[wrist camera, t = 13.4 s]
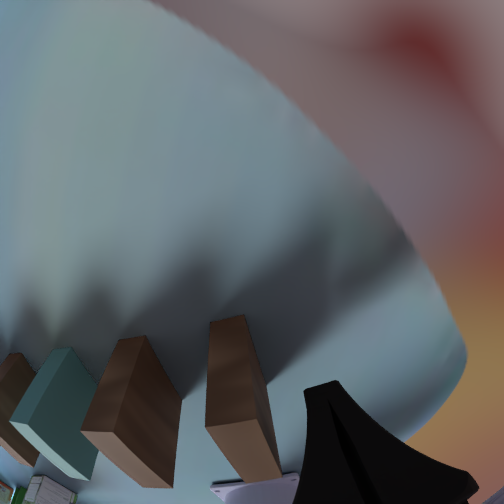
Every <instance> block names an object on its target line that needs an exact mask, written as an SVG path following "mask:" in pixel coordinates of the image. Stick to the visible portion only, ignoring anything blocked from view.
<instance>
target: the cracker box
mask: <svg viewBox="0 0 504 504" xmlns="http://www.w3.org/2000/svg"><path fill="white" fill-rule="evenodd" d="M13 491H14V490H13V489H12V488H10V487H9V486H7V485H6V484H4V483H3V482H2V481H0V504H9V503H10V500H11V497H12V494H13Z"/></svg>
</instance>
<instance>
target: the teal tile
mask: <svg viewBox="0 0 504 504" xmlns="http://www.w3.org/2000/svg"><path fill="white" fill-rule="evenodd" d="M97 387H98V386H97V385H96V383H95V382H94V380H93V379H92V378H91V376H90V375H89V373H88V372H87V370H86V369H85V367H84V366H83V364H82V363H81V361H80V360H79V358H78V357H77V355H76V353H75V352H74V350H73V349H72V347H67V348H60V349H53V350H52V352H51V353H50V355H49V356H48V358H47V359H46V361H45V362H44V364H43V365H42V367H41V368H40V370H39V371H38V373H37V375H36V376H35V378H34V379H33V381H32V383H31V384H30V386H29V387H28V389H27V391H26V392H25V394H24V396H23V397H22V399H21V401H20V402H19V404H18V406H17V408H16V409H15V411H14V413H13V415H12V417H11V418H10V420H9V422H10V423H11V424H12V425H13V426H14V427H15V428H16V429H17V430H18V431H19V432H20V433H21V434H22V435H23V436H24V437H25V438H26V439H27V440H28V441H29V442H30V443H31V444H32V445H33V446H34V447H35V448H36V449H37V450H38V451H39V452H40V453H41V454H43V455H44V456H45V457H46V458H47V459H48V460H49V461H51V462H52V463H53V464H54V465H55V466H56V467H58V468H59V469H60V470H61V471H63V472H64V473H65V474H66V475H68V476H69V477H72V478H76V479H82V480H87V481H90V480H91V476H92V472H93V468H94V465H95V461H96V458H97V454H98V451H99V450H98V449H97V448H96V447H95V446H94V445H93V444H92V443H91V442H90V441H89V440H88V439H87V438H86V437H85V436H84V435H83V434H82V433H81V432H80V429H81V426H82V424H83V421H84V418H85V416H86V413H87V411H88V408H89V406H90V404H91V401H92V399H93V396H94V394H95V392H96V389H97Z"/></svg>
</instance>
